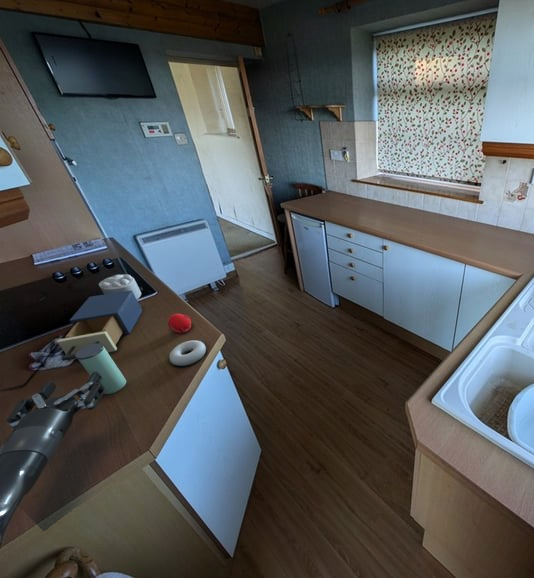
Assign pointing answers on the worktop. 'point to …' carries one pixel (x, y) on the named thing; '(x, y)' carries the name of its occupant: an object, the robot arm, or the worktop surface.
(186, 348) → the donut
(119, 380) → the tin
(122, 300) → the cabinet
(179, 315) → the red rounded lump
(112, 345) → the drawer
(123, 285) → the lumpy-topped squat cylinder
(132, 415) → the worktop surface
